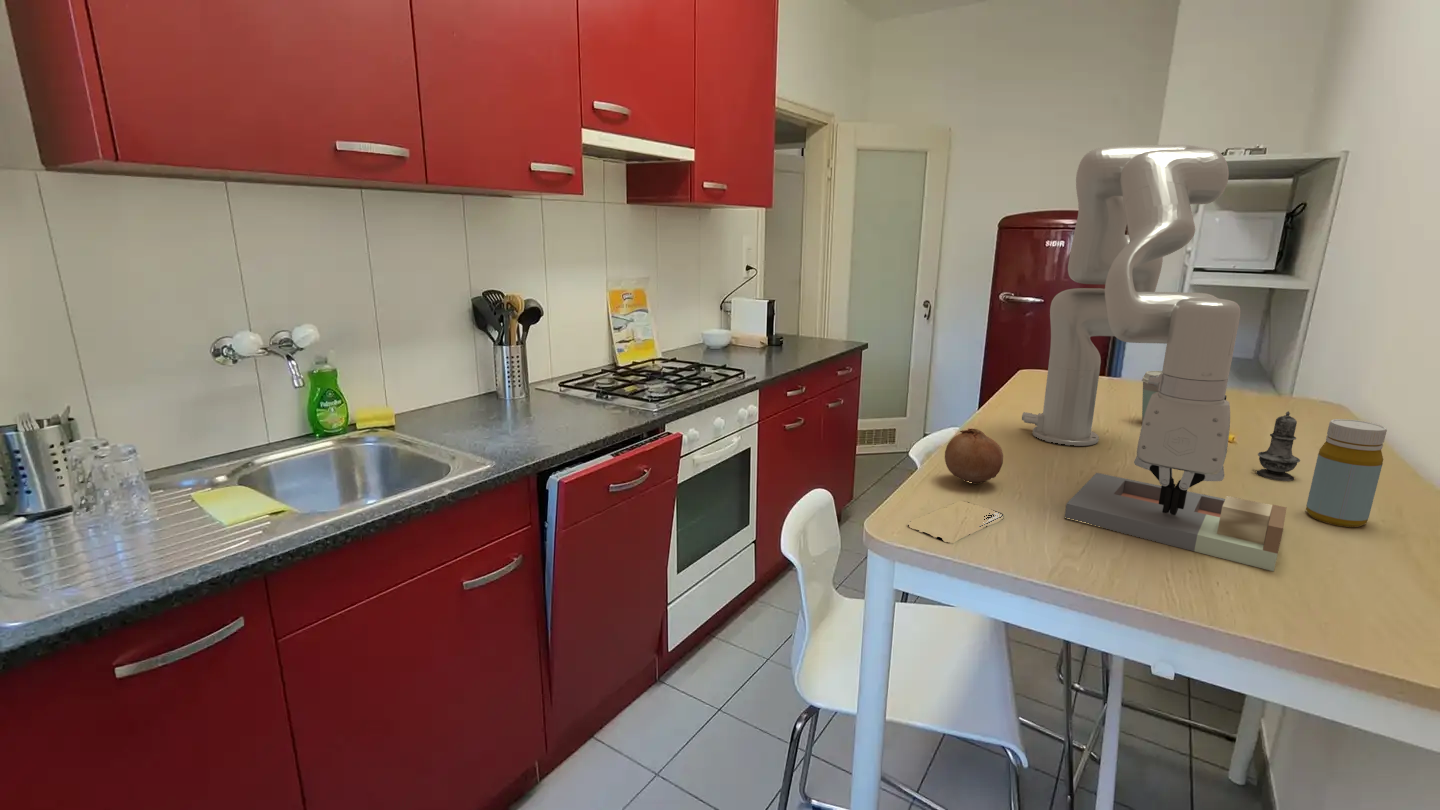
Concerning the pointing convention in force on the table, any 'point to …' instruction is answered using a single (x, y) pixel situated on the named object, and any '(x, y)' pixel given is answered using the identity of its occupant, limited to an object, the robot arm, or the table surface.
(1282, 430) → the salt shaker
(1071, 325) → the robot arm
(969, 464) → the onion
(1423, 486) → the table surface
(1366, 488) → the bottle
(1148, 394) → the coffee cup
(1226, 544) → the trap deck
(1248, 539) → the maple block
